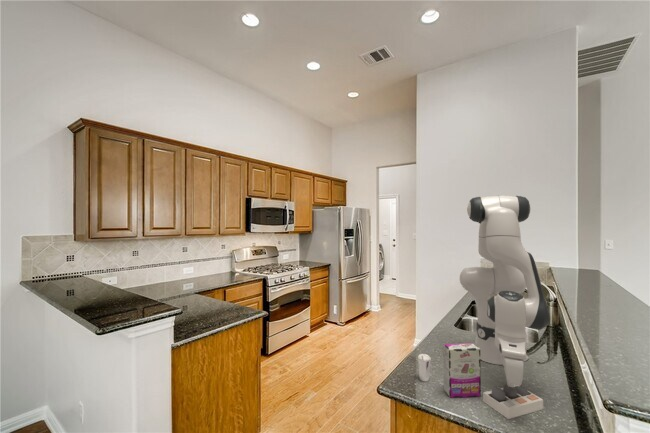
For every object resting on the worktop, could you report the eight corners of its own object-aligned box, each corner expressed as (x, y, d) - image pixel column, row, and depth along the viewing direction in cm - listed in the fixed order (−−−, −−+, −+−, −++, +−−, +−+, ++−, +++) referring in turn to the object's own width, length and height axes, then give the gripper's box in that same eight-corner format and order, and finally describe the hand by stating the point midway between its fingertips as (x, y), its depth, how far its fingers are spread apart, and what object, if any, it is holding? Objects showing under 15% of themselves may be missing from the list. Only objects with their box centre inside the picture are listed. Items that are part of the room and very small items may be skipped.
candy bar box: (472, 388, 104) (473, 342, 105) (481, 397, 99) (481, 348, 100) (442, 389, 104) (442, 343, 104) (449, 398, 99) (449, 349, 99)
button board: (516, 393, 102) (516, 383, 102) (543, 409, 93) (543, 398, 93) (483, 401, 97) (483, 391, 97) (508, 419, 89) (508, 408, 89)
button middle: (508, 392, 99) (508, 383, 99) (519, 399, 95) (519, 390, 95) (500, 395, 97) (500, 385, 97) (510, 401, 94) (510, 392, 94)
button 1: (497, 395, 97) (497, 386, 97) (508, 402, 93) (508, 393, 93) (488, 397, 96) (488, 388, 96) (499, 404, 92) (499, 395, 92)
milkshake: (415, 381, 109) (415, 354, 109) (419, 374, 113) (419, 349, 113) (428, 385, 106) (428, 357, 106) (431, 378, 111) (432, 352, 111)
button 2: (519, 394, 100) (519, 385, 100) (530, 400, 97) (530, 391, 97) (511, 396, 99) (511, 387, 99) (522, 402, 95) (522, 393, 95)
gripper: (496, 330, 107) (496, 368, 107) (502, 352, 88) (502, 398, 88) (517, 333, 104) (516, 372, 104) (527, 357, 86) (527, 404, 86)
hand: (510, 384), depth 96 cm, fingers closed
